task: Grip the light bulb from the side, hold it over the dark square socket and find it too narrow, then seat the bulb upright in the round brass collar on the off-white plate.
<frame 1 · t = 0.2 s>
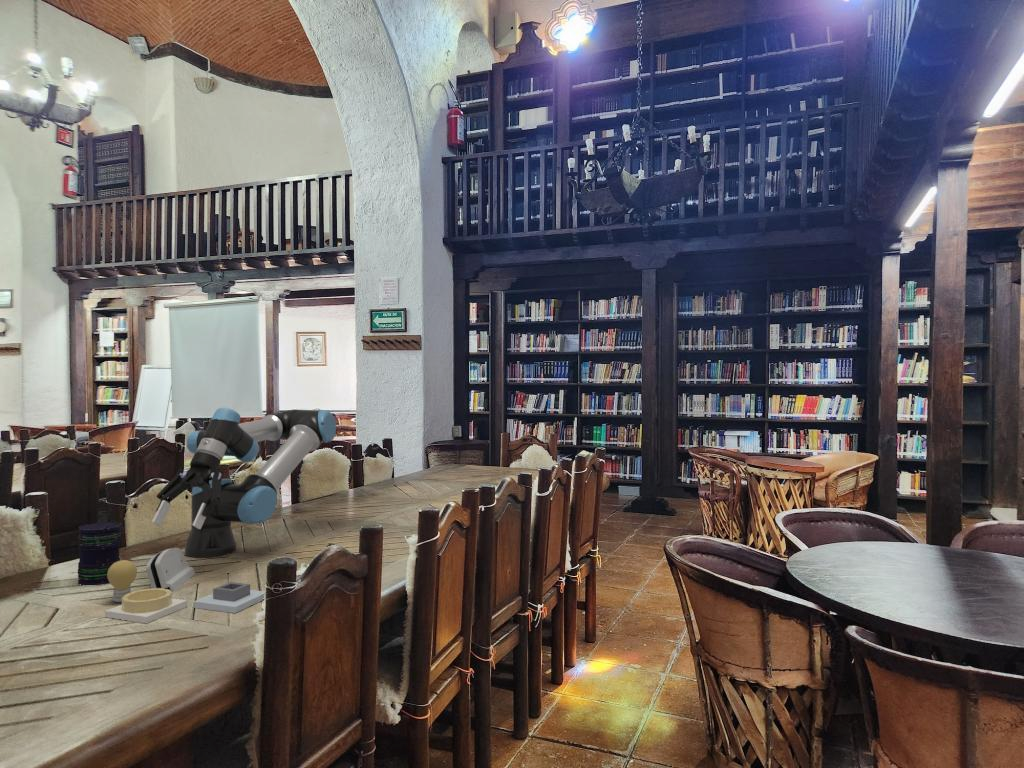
hand: (176, 525, 177), 15 cm above the table, tool tilted 35°, fingers open, 13 cm apart
round socket: (146, 611, 153), on the table
square socket: (231, 602, 161), on the table
storage jar: (99, 581, 177), on the table
light bulb: (121, 601, 160), on the table
white curved block: (169, 583, 176), on the table
wood carving: (328, 589, 173), on the table
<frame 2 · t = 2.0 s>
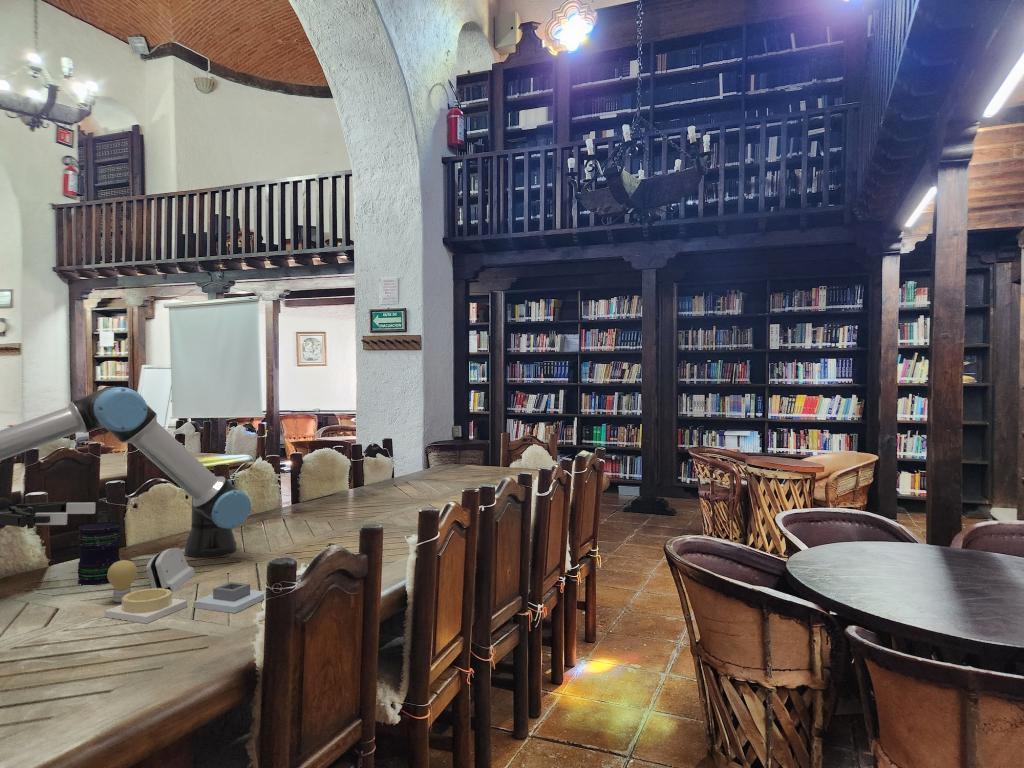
hand: (81, 513, 159), 22 cm above the table, tool horizontal, fingers open, 13 cm apart
nothing on the table moved.
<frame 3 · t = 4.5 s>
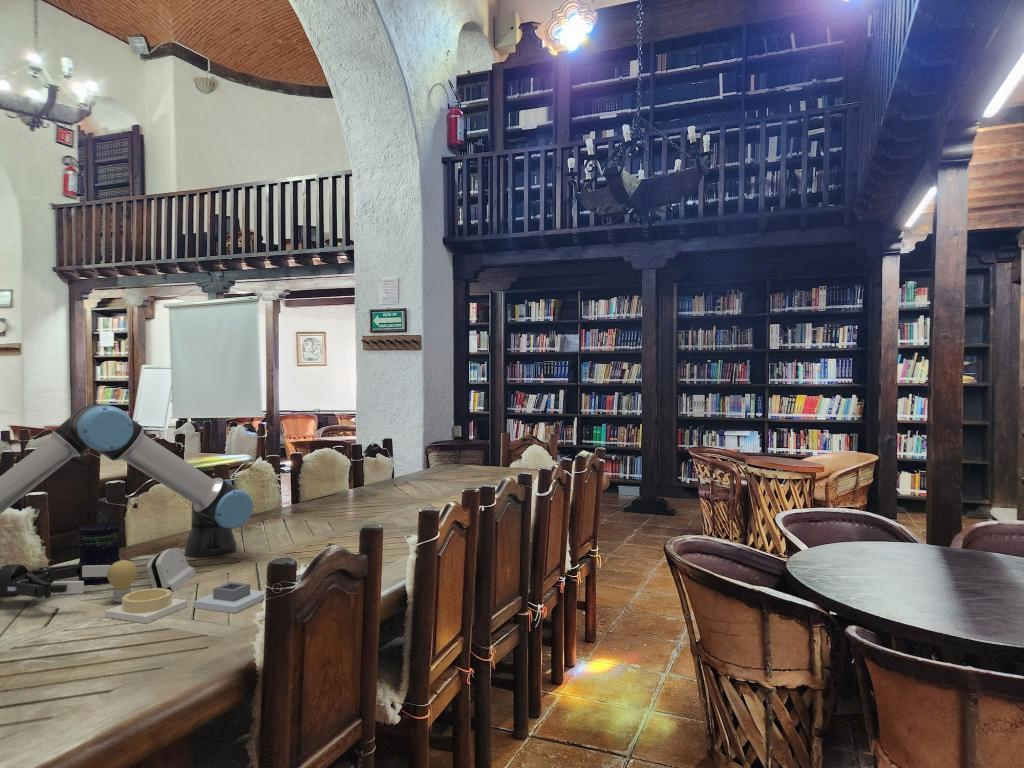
hand: (97, 578, 159), 6 cm above the table, tool horizontal, fingers open, 13 cm apart
nothing on the table moved.
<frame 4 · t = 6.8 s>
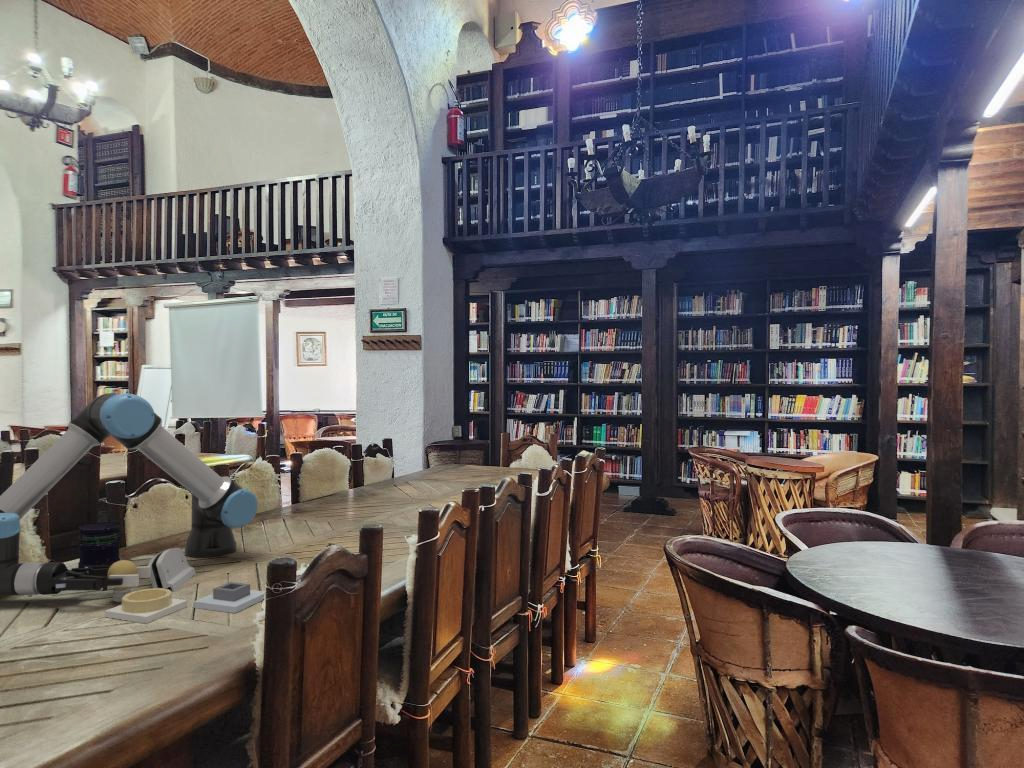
hand: (144, 576, 161), 6 cm above the table, tool horizontal, fingers closed on light bulb, 6 cm apart
light bulb: (121, 601, 160), on the table, touching gripper
everything else where it was.
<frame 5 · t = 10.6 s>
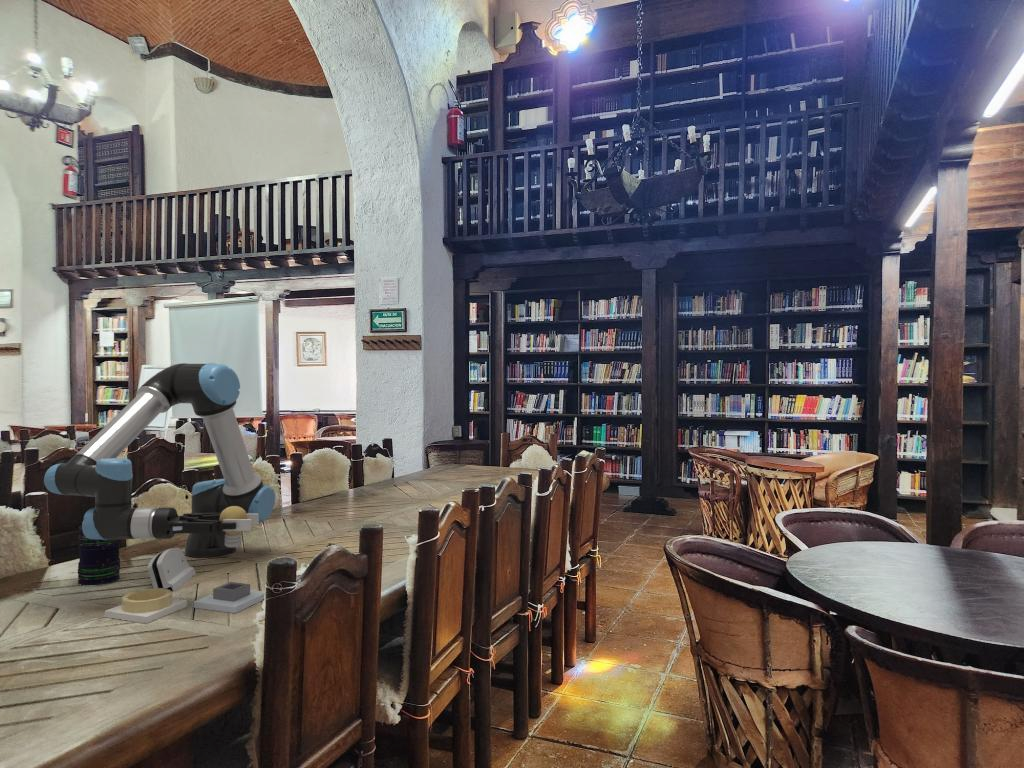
hand: (254, 521, 161), 20 cm above the table, tool horizontal, fingers closed on light bulb, 6 cm apart
light bulb: (232, 547, 161), point 14 cm above the table, touching gripper
everything else where it was.
when the fingers open (9 cm above the table, at t = 14.3 s): light bulb drops 1 cm, resting on round socket.
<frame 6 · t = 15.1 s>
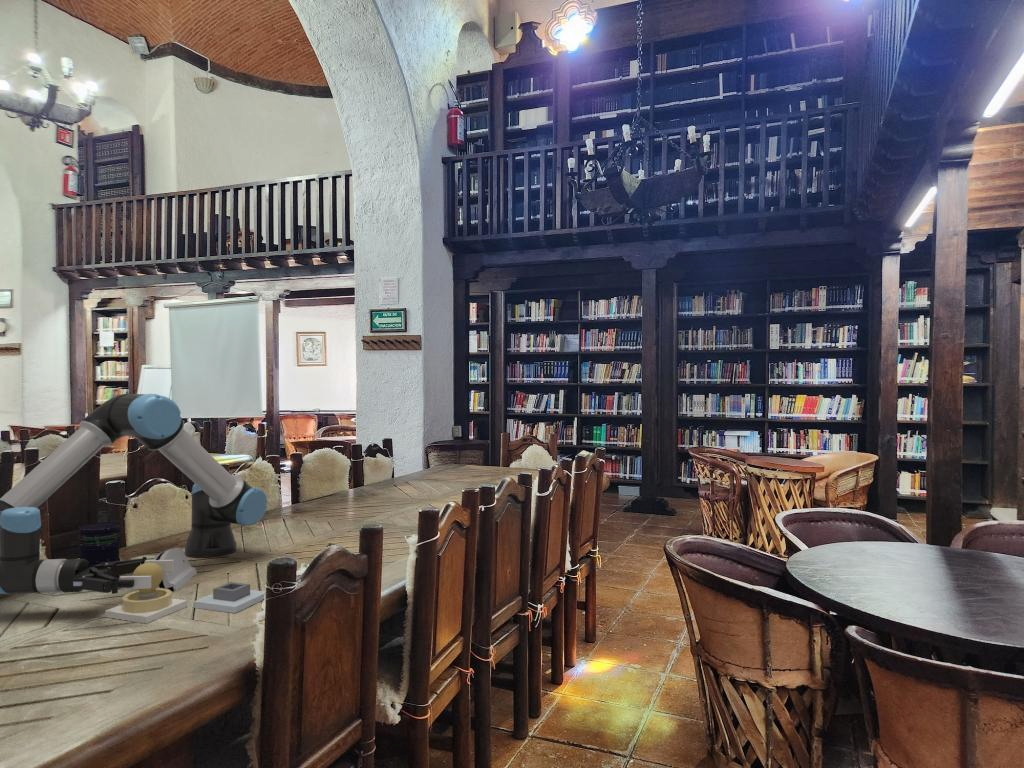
hand: (162, 573, 154), 9 cm above the table, tool horizontal, fingers open, 13 cm apart
light bulb: (147, 606, 153), point 1 cm above the table, touching round socket
everything else where it was.
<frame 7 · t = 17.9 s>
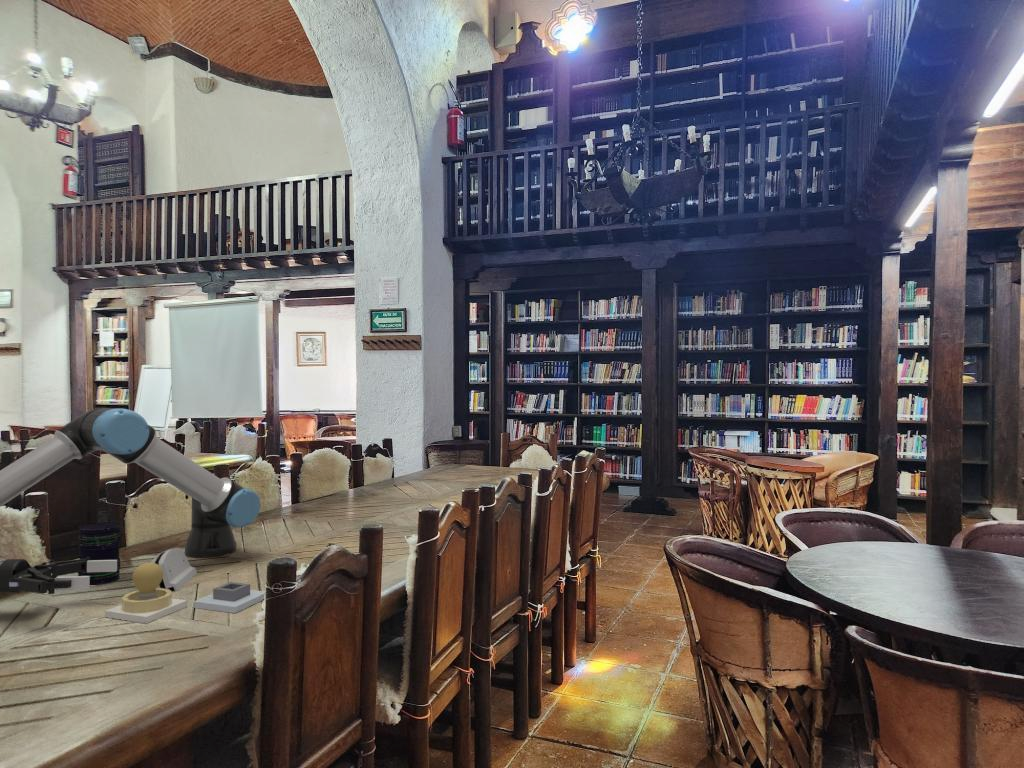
hand: (103, 573, 152), 9 cm above the table, tool horizontal, fingers open, 13 cm apart
nothing on the table moved.
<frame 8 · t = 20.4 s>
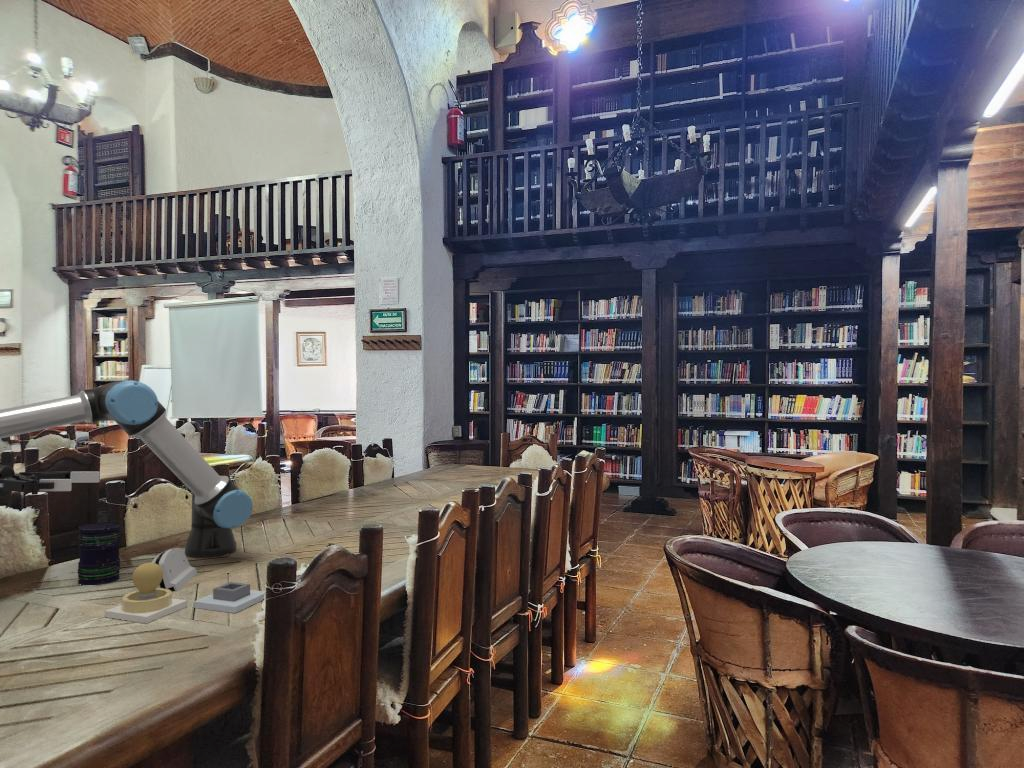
hand: (85, 480, 158), 30 cm above the table, tool horizontal, fingers open, 13 cm apart
nothing on the table moved.
at the end: light bulb 0.1 cm off-centre on the round socket, point 1.3 cm above the round socket's base; light bulb tilted 0°; the gripper is holding nothing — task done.
